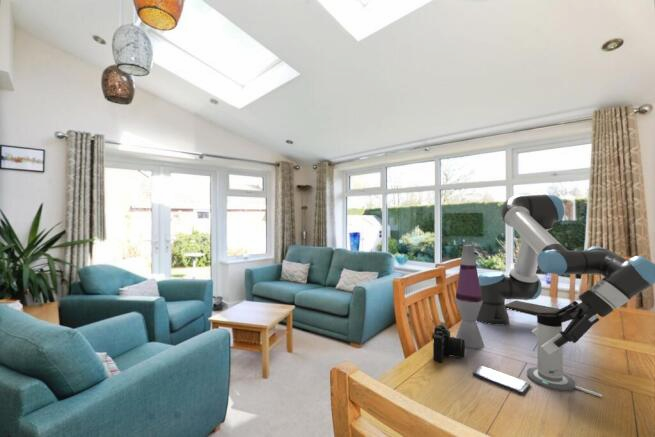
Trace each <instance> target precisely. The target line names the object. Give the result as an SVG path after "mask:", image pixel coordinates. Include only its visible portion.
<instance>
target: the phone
mask: <svg viewBox="0 0 655 437" xmlns="http://www.w3.org/2000/svg"><path fill="white" fill-rule="evenodd" d="M472 377H474V378H477V379H480V380H482V381H484V382H487V383H490V384H492V385H495V386H498V387H500V388H504V389H505V390H508V391H510V392H513V393H516V394H518V395H521V396H523V395H524V394H525V393H526V392H527V391H528V390H529V389H530V387H531V382H528V381H527V380H524V379H520V378H517V377H515V376H512V375H510V374H507V373H504V372H501V371H499V370H495V369H493V368H490V367H487V366H484V365H481V366H479V367H478V368H477V369H475V370H474V371H473V372H472Z"/></svg>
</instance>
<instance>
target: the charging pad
mask: <svg viewBox="0 0 655 437" xmlns="http://www.w3.org/2000/svg"><path fill="white" fill-rule="evenodd" d="M526 375H527V378H528V379H529V380H530V381H531V382H533V383H535V384H536V385H538V386H541V387H543V388H545V389H549V390H552V391H559V392H572V391H574V390H578V391H580V392H583V393H588V394H590V395H593V396H597V397H599V398H601V397H603V396H602V394H601V393H598V392H596V391H593V390H589V389H586V388H583V387H580V386H577V385H576V381H575V380H574V379H573V378H572V377H570V376H569V375H568V374H565V373H563V374H562V375H563V380H562V381H560V382H554V381H549V380H546V379H544V378H542V377H540V376H539V375H538V366H533V367H530V368H528V369H527V371H526Z"/></svg>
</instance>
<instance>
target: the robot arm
mask: <svg viewBox="0 0 655 437" xmlns="http://www.w3.org/2000/svg"><path fill="white" fill-rule="evenodd" d="M500 216H501V219H502V220H503V222H504V223H505V224H506V225H507V226H508V227H511V228H513V229H514V230H515V231H516V232H517V233H518V235H520V237H521V240H520V245H519V249H518V253H517V257H516V262H515V266H514V267H513V268H512V269H510V271H509V274H507V275H506V274H505V273H504V272H501V271H487V272H482V273H480V274H479V275H478V279H479V284H480V290H481V296H482V301H483V303H482V305H481V308H480V311H479V314H478V316H477V319H478V320H480V321H479V322H481V321H483V322H482V323H484V322H486V323H485V324H488V323H490V324H489V325H495V324H500V325H501V326H503V325H502V324H504V325H508V324H509V323H510V316H509V314H508V311H507V310H508V309H506V308H505V305H506V301H505V300H516V301H521V300H523V301H531V300H537V298H539V297H540V295H541V293H542V289H543V288H542V286H543V285H542V281H541V279H540V278H539V276H538V274H537V270H538V268H539V270H540V271H541V272H542V273H545V274H553V275H600V276H602V277H603V278H602V279H601V280H596V281H595V284H594V285H593V286H591V288H590V289H587V290H585V291H584V292H582V293H581V294H580V295H578V299H579V301H581V302H577V301H576V300H574V301H572V302H570V303H569V304H568V305H565V306H564V307H561V308H558V309H559V310H557V311H555V312H553V313H556V314H560V315H563V318H562V322H561V323H562V324H563V323H566V322H568V321H569V323H568V325H567V326H566V327H565V329H564V330H563V331H562V332H559V334H558V335H556V336H555V337H553V338H552V339H550V340H549V341H548V342H546V343H545V344H543V345H542V346H541V347H542V348H543V349H544V350H545V351H546V352H547V353H548V354H549V355H550V354H551V353H553V352H554V351H556V350H557V349H559V348H560V347H562V348H563V346H565V345H566V344H567V343H571V342H572V344H576V343H577V342H578V341H579V340H580V339H581V338H582V337H583V336H584V335H585V334H586V333H587V332H588V330H590V329H591V328H592V326H593V325H596V324H597V323H598V322H600V318H598V317H597V316H596V315H598V316H600V317H601V318H605V317H606V316H608V315H610V314H611V313H612V312H614V309H619V308H620V307H621V306H623V305H624V304H626V303H628V302H629V301H630V300H631V299H632V298H634V297H635V296H637V295H639V294H640V293H642V292H643V291H645V290H646V289H649V288H650V287H651V286H653V285H654V284H655V263H654V262H653V261H651V260H649V259H647V257H646V258H645V257H644V256H640V255H634V256H633V257H631V258H625V257H624V256H623V257H622V256H621V255H619V254H617V253H615V252H613V251H612V250H610V249H607V248H604V247H601V246H598V245H597V246H596V245H591V246H590V247H588V248H585V249H584V250H569V249H567V248H566V247H565V246H563V244H561V243H560V242H559V241H558V240H557V239H556V238H555V237H554V236H553V235H552V234H551V233H550V232H549V231H550V230H552V229H553V228H554V225H555V223H559V222H560V221H562V220H563V219H564V216H565V206H564V204H563V201H562V200H561V197H558V196H557V195H554V194H527V195H525V194H523V195H522V194H521V195H520V194H519V195H514V196H512V197H509V198H507V199H506V201H504V203H503V204H502V206H501V209H500ZM477 319H476V320H477ZM478 320H477V321H478ZM500 325H499V326H500ZM531 332H532V333H533V334H534V335H535V336H536V337H537V327H536V328H533V329H532V331H531Z"/></svg>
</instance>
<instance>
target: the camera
mask: <svg viewBox="0 0 655 437" xmlns="http://www.w3.org/2000/svg"><path fill="white" fill-rule="evenodd" d="M431 334H432V335H431V336H432V337H431V338H432V339H433V343H432V344H433V345H432V347H433V349H432V351H433V352H432V357H433V358H432V359H433V362H435V363H439V364H442V363H443V361H444V358H449V357H450V356H451V357H456V358H457V357H458V358H465V353H466V351H465V350H466V347H465V340H462V339H460V338H458V339H457V338H456V337H454V336H451V331H450V330H449V329H447V328H446V325H445V324H443V323H442V324H438V325H436V326H435V327H434V331H433V332H432V333H431Z"/></svg>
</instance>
